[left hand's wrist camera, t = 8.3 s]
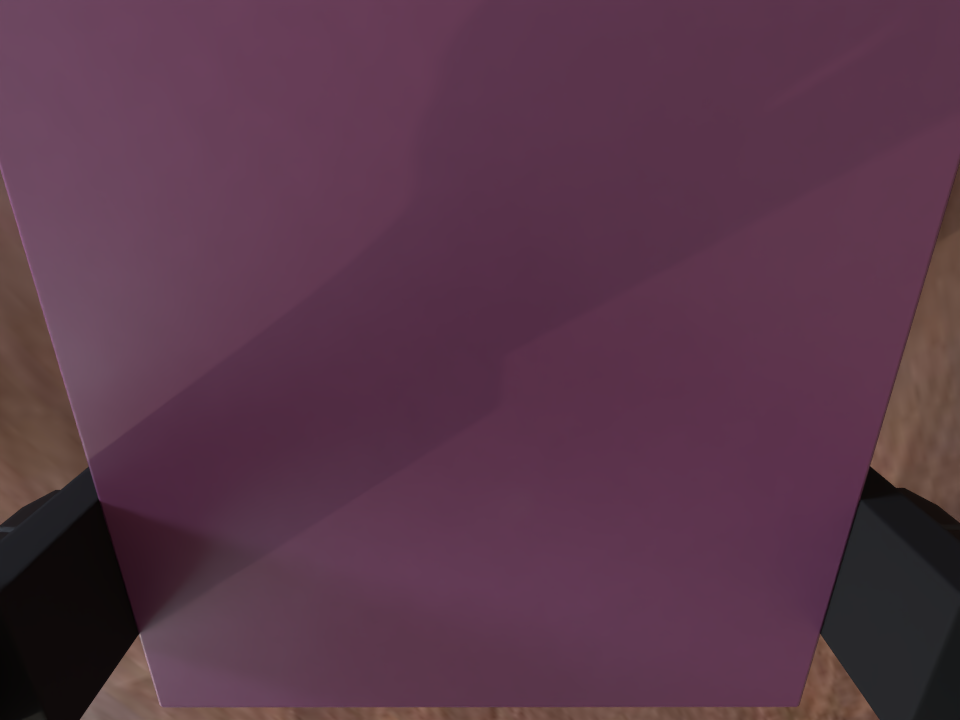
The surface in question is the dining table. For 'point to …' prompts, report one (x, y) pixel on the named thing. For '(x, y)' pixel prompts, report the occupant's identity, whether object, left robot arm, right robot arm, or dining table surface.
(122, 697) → the dining table surface
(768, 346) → the cabinet
